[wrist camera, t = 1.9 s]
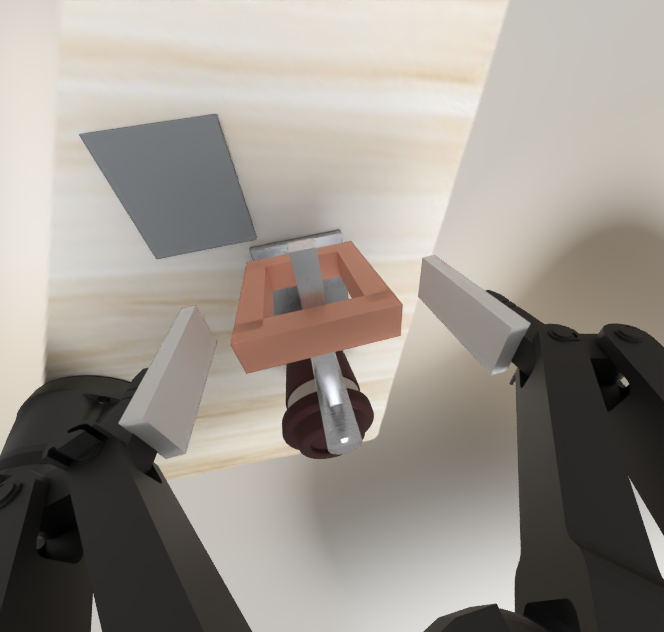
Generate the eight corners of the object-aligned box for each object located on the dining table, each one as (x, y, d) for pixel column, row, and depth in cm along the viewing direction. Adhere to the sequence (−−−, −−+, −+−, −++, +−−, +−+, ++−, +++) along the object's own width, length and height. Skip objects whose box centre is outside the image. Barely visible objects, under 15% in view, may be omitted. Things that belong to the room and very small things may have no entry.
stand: (273, 314, 31) (276, 473, 16) (232, 197, 23) (159, 307, 8) (346, 298, 32) (413, 434, 17) (333, 179, 24) (445, 245, 9)
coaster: (159, 256, 24) (156, 259, 24) (85, 134, 18) (78, 134, 18) (256, 237, 25) (256, 239, 25) (216, 115, 19) (215, 114, 18)
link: (255, 285, 19) (246, 373, 12) (246, 262, 17) (230, 344, 10) (352, 264, 19) (400, 335, 12) (351, 240, 18) (402, 304, 11)
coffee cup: (320, 373, 40) (340, 470, 28) (266, 355, 35) (264, 463, 23) (356, 332, 36) (398, 424, 25) (302, 306, 32) (322, 405, 20)
